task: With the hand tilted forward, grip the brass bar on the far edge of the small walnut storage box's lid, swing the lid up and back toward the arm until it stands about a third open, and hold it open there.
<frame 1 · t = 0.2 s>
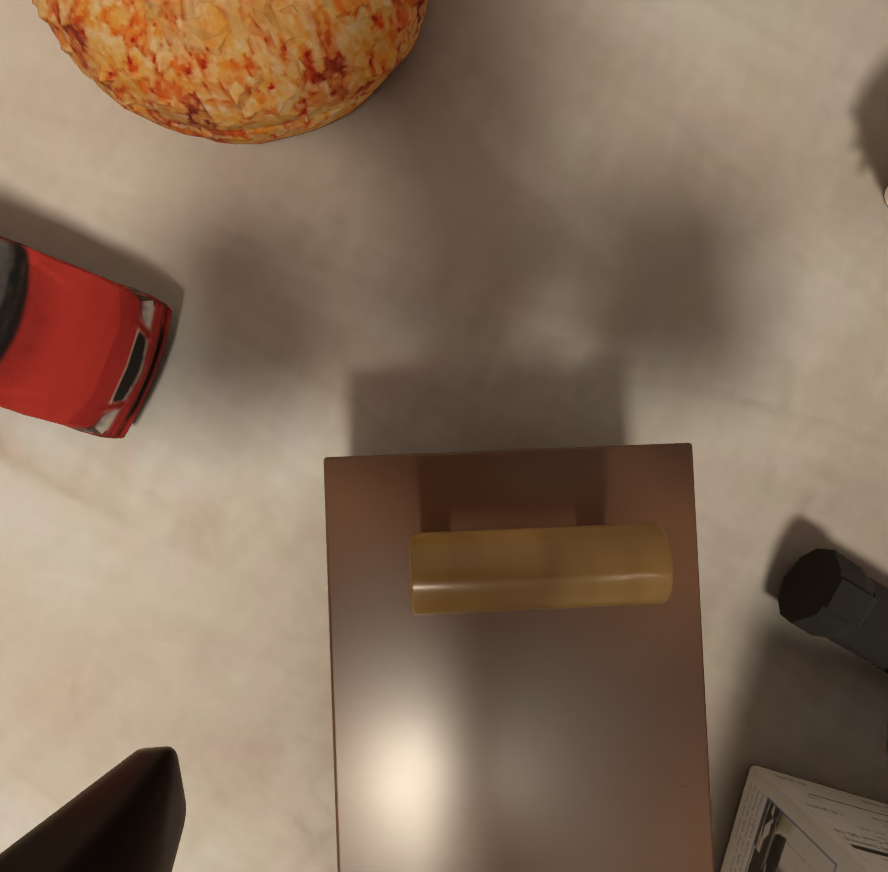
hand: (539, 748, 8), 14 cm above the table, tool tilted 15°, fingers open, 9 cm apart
lid: (529, 696, 15), point 7 cm above the table, hinge at 0.0°
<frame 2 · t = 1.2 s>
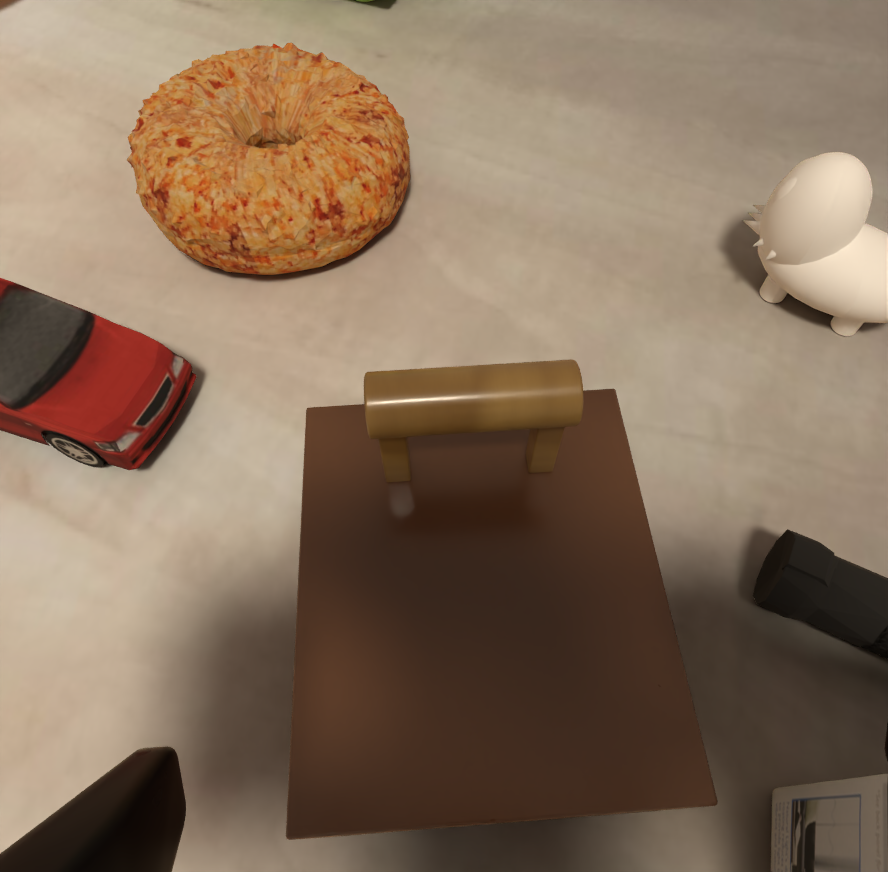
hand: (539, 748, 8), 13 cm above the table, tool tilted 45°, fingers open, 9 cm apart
lid: (482, 549, 15), point 7 cm above the table, hinge at 0.0°
toy creature: (807, 300, 29), on the table
toy car: (24, 389, 27), on the table
bagel: (285, 198, 33), on the table
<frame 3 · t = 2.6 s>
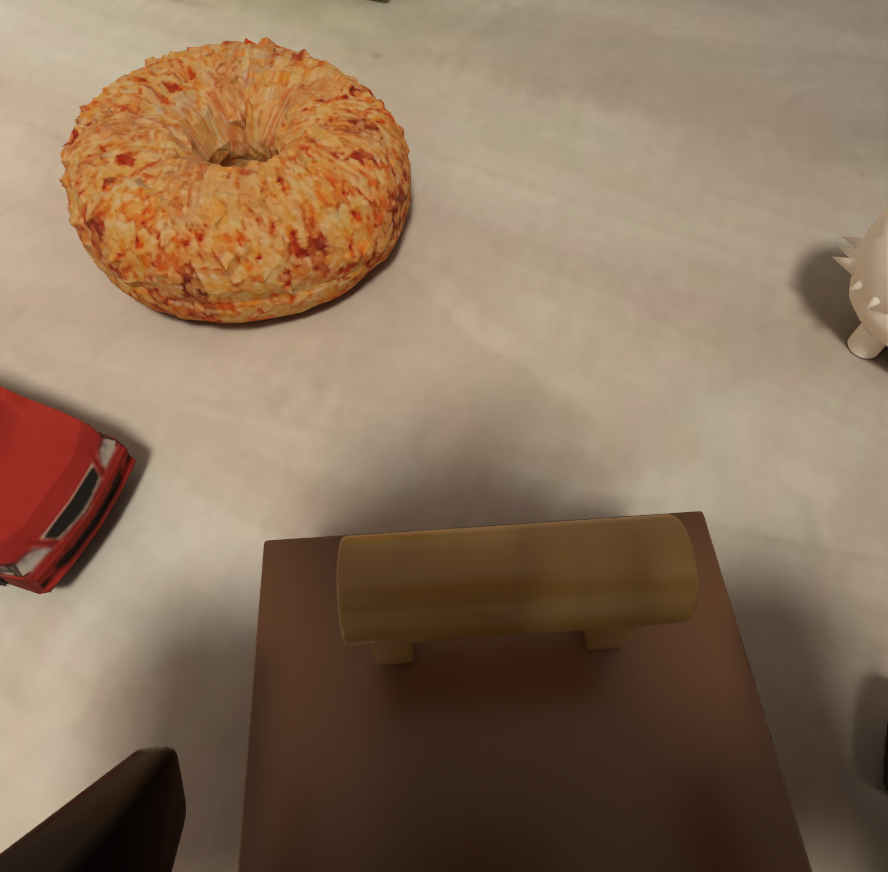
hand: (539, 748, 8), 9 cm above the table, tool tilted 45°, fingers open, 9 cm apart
lid: (529, 826, 10), point 7 cm above the table, hinge at 0.0°
bagel: (260, 224, 27), on the table
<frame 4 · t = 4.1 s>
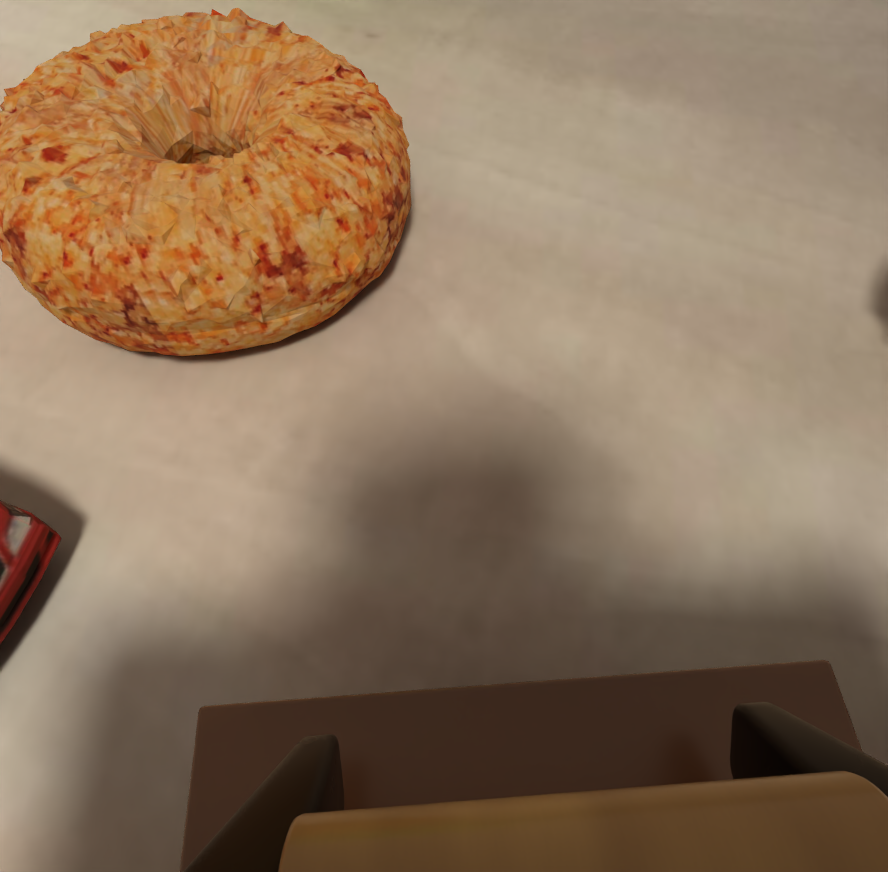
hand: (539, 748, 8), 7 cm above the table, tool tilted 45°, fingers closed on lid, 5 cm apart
bagel: (232, 232, 23), on the table
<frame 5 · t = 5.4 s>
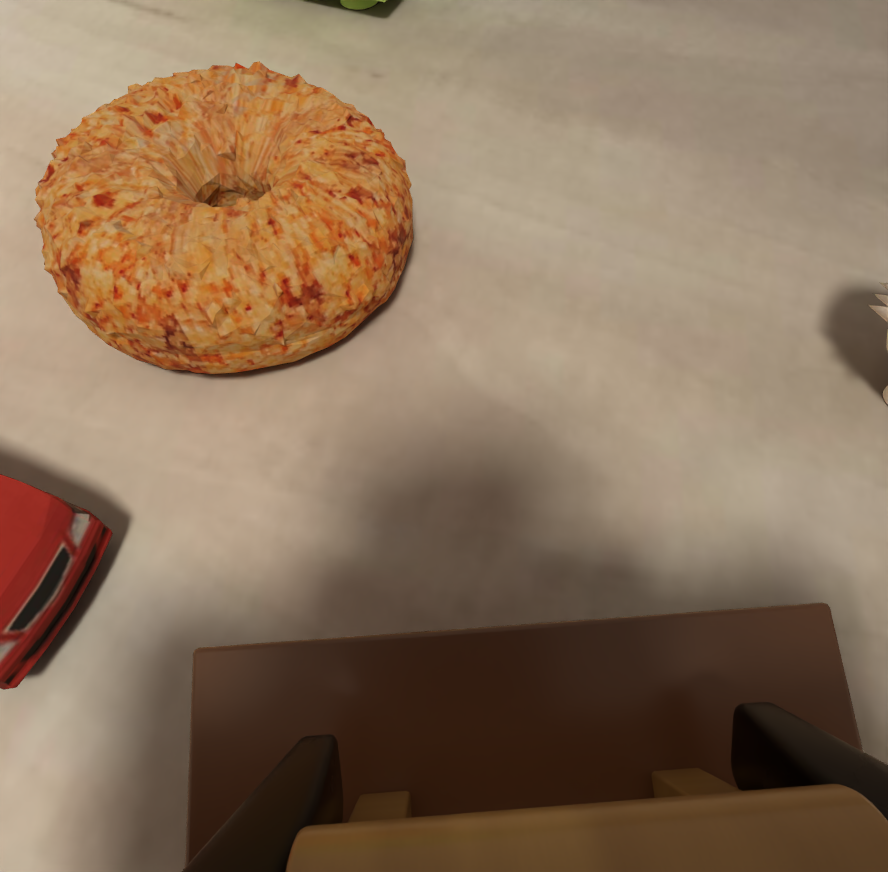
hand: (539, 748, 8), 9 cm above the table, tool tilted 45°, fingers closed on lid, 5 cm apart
bagel: (252, 260, 26), on the table
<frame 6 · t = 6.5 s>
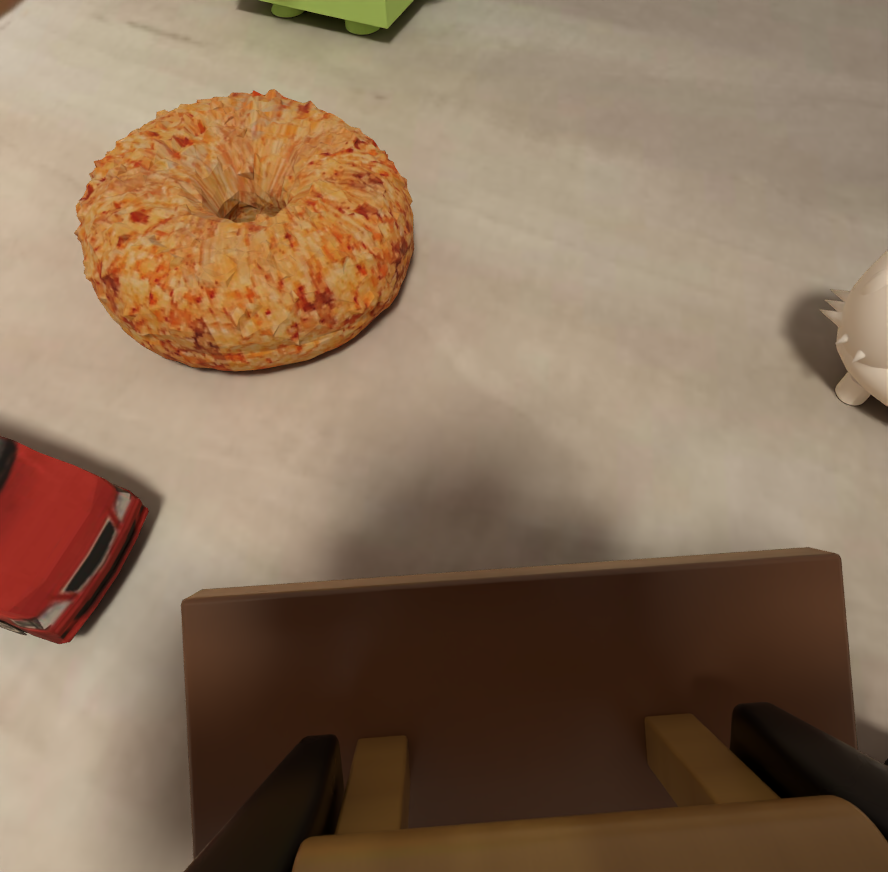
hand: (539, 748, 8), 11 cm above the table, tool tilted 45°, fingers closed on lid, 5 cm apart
teapot: (346, 0, 40), on the table
bagel: (267, 269, 28), on the table
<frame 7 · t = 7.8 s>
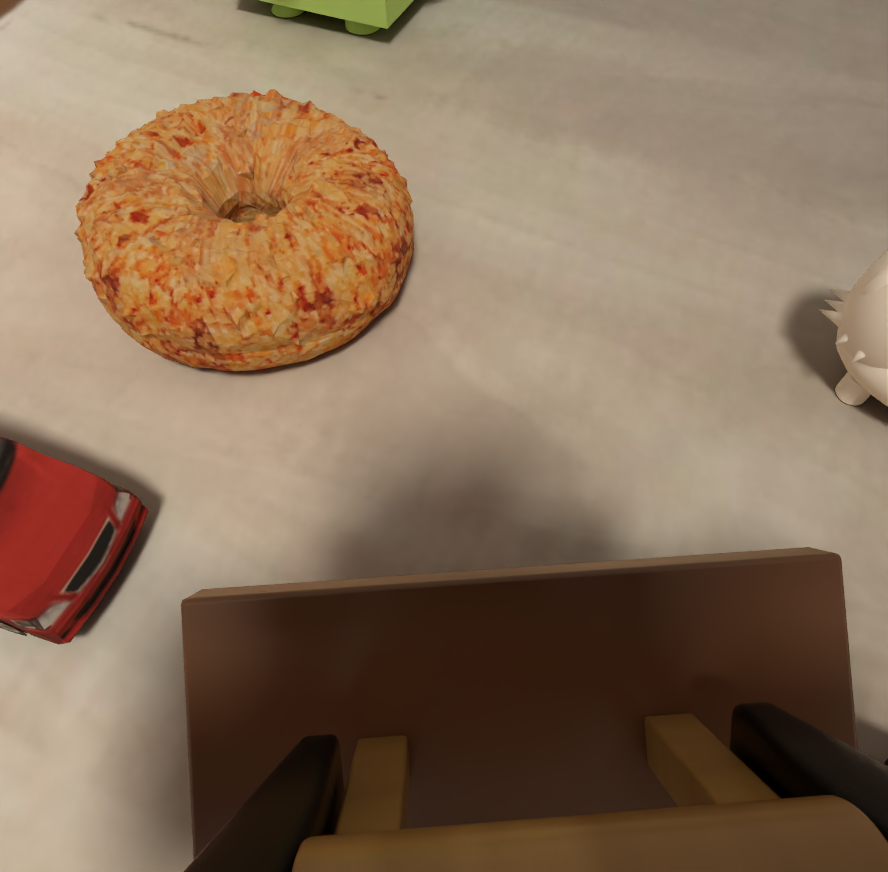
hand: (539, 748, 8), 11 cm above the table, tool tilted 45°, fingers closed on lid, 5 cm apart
teapot: (346, 1, 40), on the table
bagel: (267, 269, 28), on the table
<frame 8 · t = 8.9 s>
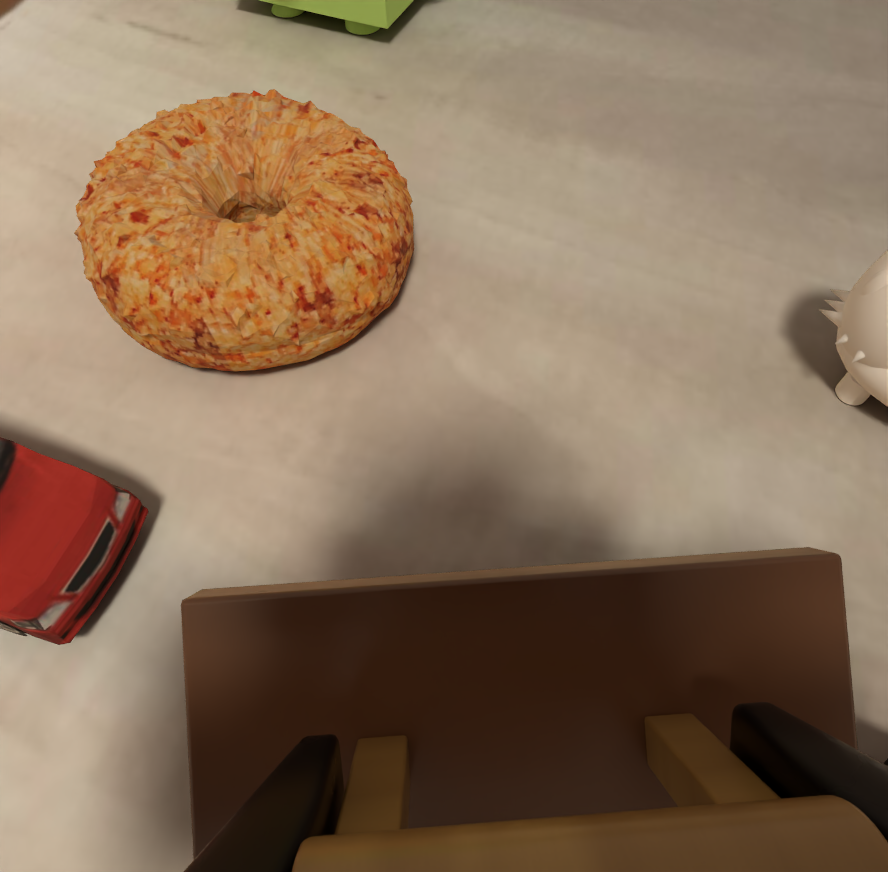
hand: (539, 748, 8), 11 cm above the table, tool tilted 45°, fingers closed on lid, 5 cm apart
teapot: (346, 1, 40), on the table
bagel: (267, 269, 28), on the table
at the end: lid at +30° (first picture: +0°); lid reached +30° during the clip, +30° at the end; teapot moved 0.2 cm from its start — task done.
